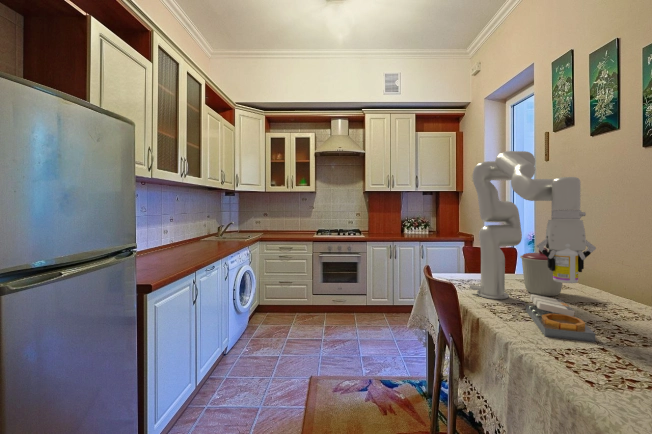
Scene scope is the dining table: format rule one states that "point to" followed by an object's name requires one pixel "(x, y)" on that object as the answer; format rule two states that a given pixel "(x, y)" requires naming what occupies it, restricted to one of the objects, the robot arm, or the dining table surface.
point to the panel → (560, 325)
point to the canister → (539, 275)
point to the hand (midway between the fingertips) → (565, 270)
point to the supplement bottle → (566, 266)
